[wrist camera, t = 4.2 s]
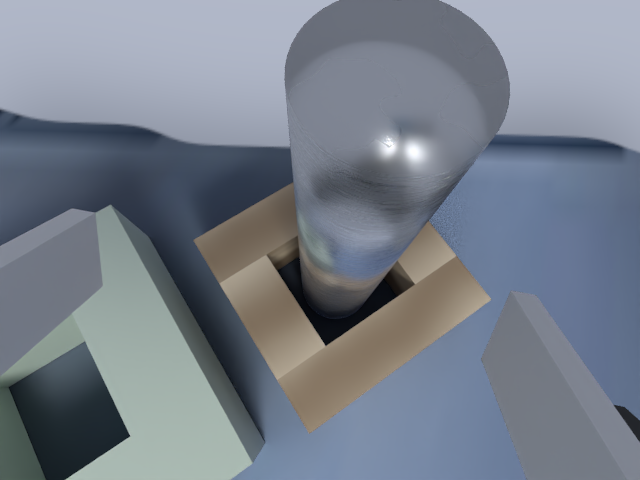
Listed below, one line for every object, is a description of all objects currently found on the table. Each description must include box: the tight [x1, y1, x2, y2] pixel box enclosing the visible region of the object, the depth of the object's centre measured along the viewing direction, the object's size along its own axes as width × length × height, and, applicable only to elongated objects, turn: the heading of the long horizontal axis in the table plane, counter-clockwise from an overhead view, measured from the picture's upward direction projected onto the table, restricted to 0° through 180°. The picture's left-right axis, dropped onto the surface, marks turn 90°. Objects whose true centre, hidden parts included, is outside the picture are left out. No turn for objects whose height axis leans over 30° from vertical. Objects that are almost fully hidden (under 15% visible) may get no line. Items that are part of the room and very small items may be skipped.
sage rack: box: [0, 205, 265, 480], centre depth 19 cm, size 14×14×5 cm
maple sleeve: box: [194, 182, 491, 434], centre depth 22 cm, size 11×11×4 cm
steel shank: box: [285, 0, 510, 319], centre depth 16 cm, size 4×4×18 cm
